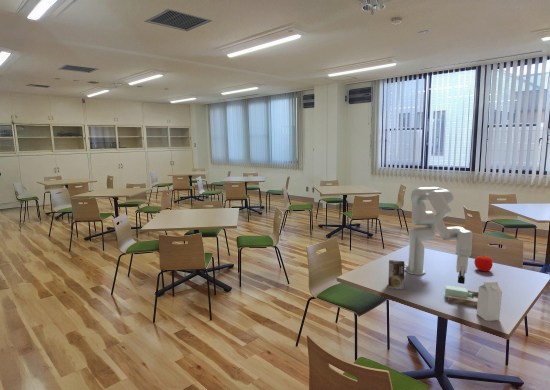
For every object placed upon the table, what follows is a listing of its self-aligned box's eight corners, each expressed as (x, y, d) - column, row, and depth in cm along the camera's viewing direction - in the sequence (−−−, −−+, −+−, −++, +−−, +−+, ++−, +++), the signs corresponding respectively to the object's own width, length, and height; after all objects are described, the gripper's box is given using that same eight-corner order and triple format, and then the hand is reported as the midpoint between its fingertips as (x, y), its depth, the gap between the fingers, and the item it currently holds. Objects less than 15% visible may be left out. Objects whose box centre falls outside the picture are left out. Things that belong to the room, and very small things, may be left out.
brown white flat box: (448, 301, 187) (448, 295, 186) (447, 291, 200) (448, 285, 199) (490, 309, 178) (491, 302, 177) (487, 298, 191) (488, 291, 190)
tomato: (494, 271, 231) (496, 256, 230) (487, 274, 226) (489, 259, 224) (478, 266, 240) (479, 252, 238) (471, 269, 234) (472, 255, 233)
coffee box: (403, 285, 209) (404, 261, 206) (403, 290, 203) (404, 264, 200) (388, 283, 212) (389, 259, 209) (387, 288, 206) (388, 263, 203)
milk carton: (476, 314, 174) (479, 279, 171) (489, 313, 174) (492, 278, 171) (486, 321, 167) (489, 285, 164) (499, 320, 167) (502, 284, 164)
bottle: (445, 288, 191) (473, 293, 185) (445, 285, 195) (473, 289, 189) (445, 297, 192) (473, 302, 185) (445, 293, 196) (472, 298, 190)
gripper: (455, 247, 195) (453, 277, 198) (456, 254, 182) (453, 286, 184) (470, 249, 191) (467, 279, 194) (472, 256, 178) (469, 289, 181)
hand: (461, 282), depth 189 cm, fingers closed
